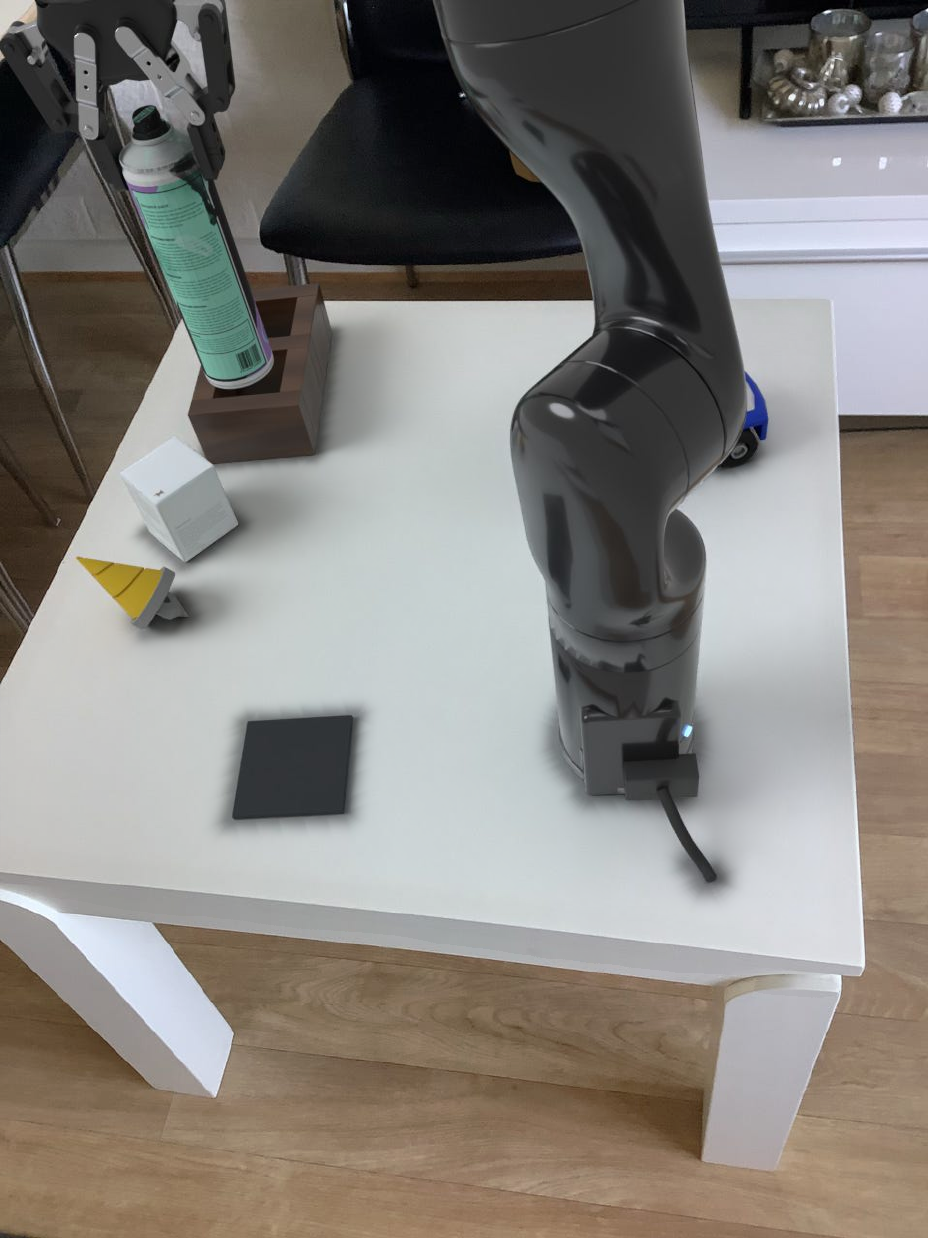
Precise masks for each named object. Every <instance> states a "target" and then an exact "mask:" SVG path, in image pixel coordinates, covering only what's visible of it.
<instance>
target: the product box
mask: <svg viewBox="0 0 928 1238" xmlns="http://www.w3.org/2000/svg"><path fill="white" fill-rule="evenodd" d="M118 475H119V477H120V479H121V480H122V483H123V485H124V487H125V488H126V490H127V492H128V494H129V495H130V497H131V499H132V501H133V503H134V505H135V507H136V509H137V510H138V512H139V514H140V516H141V518H142V520H143V522H144V523H145V525H146V528H147V530H148V532H149V533H150V534H151V535H152V536H153V537H154V538H155V539H157V540H158V541H159V542H160V543H161V544H162V545H163V546H165V547H166V548H167V549H168V550H169V551H170V552H172V553H173V555H175V557H178V559H180V560H181V561H182V562H183V563H186V562H188V561H190V560H191V559H193V558H194V557H196V556H197V555H198V554H200V553H201V552H203V551H204V550H205V549H207V548H208V547H210V546H211V545H213V544H214V543H215V542H216V541H218V540H219V539H221V538H222V537H223V536H225V535H226V534H228V533H230V532H231V531H232V530H234V529H235V528H236V527H237V526H238V525H239V521H238V520H237V517H236V515H235V512H234V510H233V508H232V505H231V503H230V501H229V498H228V497H227V496H228V495H227V494H226V492H225V489H224V487H223V484H222V481H221V480H220V478H219V477H220V476H219V475H218V473H217V470H216V467H215V465H214V464H212V463H210V462H209V461H208V460H207V459H206V457H205V456H202V454H200V453H199V452H198V451H197V450H195V449H194V448H193V447H191V446H190V445H189V444H188V443H186V442H185V441H183V440H182V439H181V438H180V437H178V436H177V435H174V436H173V437H171V438H170V439H168V440H166V441H165V442H163V443H161V444H160V445H158V446H156V448H154V449H153V450H151V451H150V452H148V453H147V454H145V455H144V456H143V457H141V458H140V459H138V460H136V461H135V462H133V463H132V464H130V465H129V466H128V467H126V468H124V469H123V470H122V471H119V474H118Z"/></svg>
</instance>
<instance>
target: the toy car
mask: <svg viewBox="0 0 928 1238" xmlns="http://www.w3.org/2000/svg"><path fill="white" fill-rule="evenodd" d="M745 377H746V385H747V402H748V403H747V415H746V421H745V425H744V428H743V430H742V432H741V435H740V437H739V439H738V441H737V443H736V445H735V446H734V448H733V450H732V451H731V452H730V454H729V455H728V456H727V458H726V459H725V460H724V461H723V462H722V463H721V464H720V465H723V466H724V467H728V468H733V467H738V466H741V465H743V464H745V463H747V462H748V461H750V459H752V458H753V457H754V456H755V454H756V452H757V451H758V448H759V441H760V442H762V441H766V439H767V434H768V428H769V427H768V426H769V420H770V419H769V412H768V407H767V403H766V400H765V397H764V395H763V393H762V391H761V389H760V387H759V386H758V384H757V383H756V382H755V380H754V379H753V378H752V377H751V376H750V375H749V373H748V372H747V371H746V370H745ZM751 428H752V429H753V430H754V432H755V434H756V435H755V434H754V432H753V430H752V429H751ZM756 436H757V437H758V439H759V441H758V439H757V437H756Z"/></svg>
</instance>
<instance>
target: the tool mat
mask: <svg viewBox="0 0 928 1238" xmlns="http://www.w3.org/2000/svg"><path fill="white" fill-rule="evenodd" d="M353 719H354V718H353V716H352V714H346V715H331V716H330V715H329V716H309V717H296V718H295V717H294V718H280V719H279V718H277V719H263V720H247V724H246V729H245V736H244V741H243V748H242V753H241V759H240V765H239V772H238V778H237V784H236V790H235V794H234V800H233V808H232V812H231V813H232V814H231V818H232V819H233V820H241V819H243V820H244V819H260V818H261V819H262V818H283V817H304V816H322V815H341V814H342V815H343V814H345V805H346V793H347V782H348V774H349V772H348V771H349V761H350V751H351V739H352V728H353Z"/></svg>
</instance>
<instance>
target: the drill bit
mask: <svg viewBox="0 0 928 1238" xmlns="http://www.w3.org/2000/svg"><path fill="white" fill-rule="evenodd" d="M75 559H76V560H77V561H78V562H79V563H80V565H82V566H83V567H84V569H85V570H86V571H87V573H89V574H90V575H91V576H92V577H93V579H94V580H95V581H96V582H97V583H98V584H99V585H100V586H101V587H102V588H103V590H105V591H106V592H107V593H108V594H109V595H110V596H111V598H112V599H113V600H114V601H115V602H116V603H117V604H118V605H119V607H121V608H122V609H123V611H125V613H126V614H127V615H128V616H129V617H130V618H131V621H130V623H131V624H130V625H132V626H134V627H136V628H138V629H140V630H145V629H146V627H148V626H149V624H150V623H151V621H152V620H153V619H154V617H155V616H156V615H157V616H159V617H161V618H163V619H165V620H173V619H176V618H177V617H178V618H179V617H181V618H190V615H189V614H188V612H187V611H186V610H185V608H184V607H183V606H182V604H181V603H180V601H179V600H178V598H177V597H176V595H175V594H174V593H172V592H170V589H171V588H172V585H173V583H174V580H175V577H176V572H175V571H174V570H172V569H170V568H168V567H166V566H162V567H161V568H160V569H156V568H151V567H150V568H149V567H143V566H137V565H132V564H125V563H118V562H114V561H107V560H100V559H94V558H89V557H81V556H76V557H75Z"/></svg>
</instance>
